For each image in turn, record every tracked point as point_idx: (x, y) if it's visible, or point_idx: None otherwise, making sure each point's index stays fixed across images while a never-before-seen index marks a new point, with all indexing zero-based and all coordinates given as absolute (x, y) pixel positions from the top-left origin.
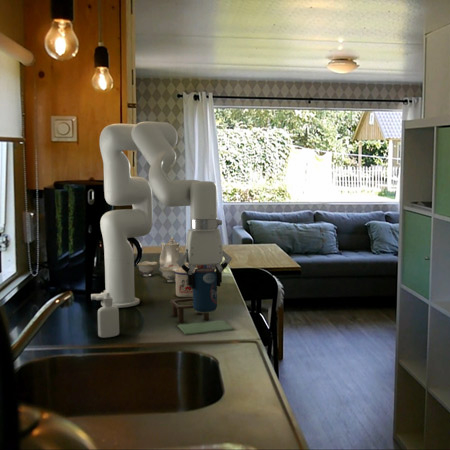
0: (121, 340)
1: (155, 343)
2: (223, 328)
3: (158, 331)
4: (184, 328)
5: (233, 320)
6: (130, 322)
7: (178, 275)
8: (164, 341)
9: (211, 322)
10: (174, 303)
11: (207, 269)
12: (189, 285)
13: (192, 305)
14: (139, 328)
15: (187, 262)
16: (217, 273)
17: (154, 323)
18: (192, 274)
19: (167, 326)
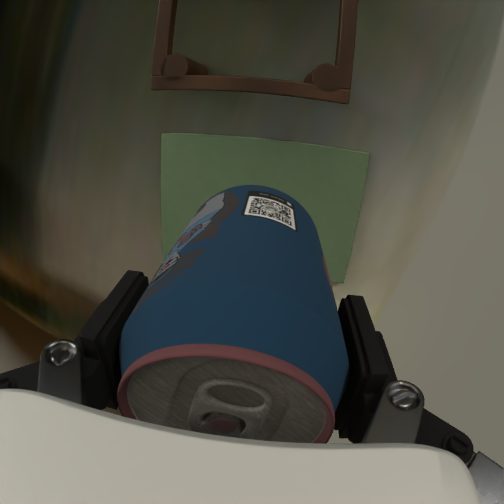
0: (7, 229)
1: (76, 295)
2: None
3: (88, 178)
4: (172, 201)
5: (411, 158)
6: (38, 29)
7: None
8: (97, 291)
9: (308, 163)
10: (160, 7)
11: (266, 415)
12: (127, 275)
13: (235, 89)
14: (44, 116)
15: (7, 396)
16: (335, 427)
17: (97, 60)
18: (107, 400)
19: (127, 121)
